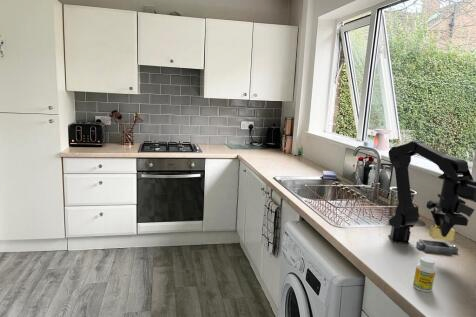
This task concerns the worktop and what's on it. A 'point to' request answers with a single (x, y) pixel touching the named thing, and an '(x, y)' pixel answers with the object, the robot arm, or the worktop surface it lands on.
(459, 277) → the worktop surface
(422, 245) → the open rectangular frame
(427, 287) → the supplement bottle
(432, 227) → the gold block with knobs
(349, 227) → the worktop surface
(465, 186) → the robot arm
